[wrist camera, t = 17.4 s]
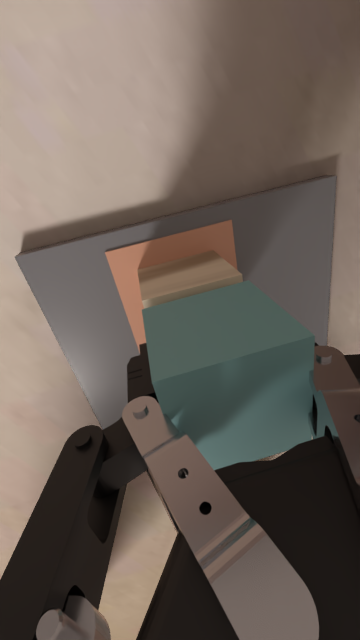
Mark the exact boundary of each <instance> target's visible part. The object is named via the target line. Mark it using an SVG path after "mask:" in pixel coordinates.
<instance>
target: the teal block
mask: <svg viewBox="0 0 360 640" xmlns="http://www.w3.org/2000/svg"><path fill="white" fill-rule="evenodd" d="M142 315H143V322H144V330H145V337H146V344H147V351H148V358H149V365H150V373H151V380H152V384H153V387H154V390H155V393H156V396H157V399H158V402H159V405H160V408H161V411H162V413H163V414H165V413H166V414H167V416H168V417H169V418H170V420H171V421H172V422H173V424H174V425H175V427H176V428H177V429H178V431H179V432H182V431H184V432H185V433H186V434H187V436H188V437H189V438H190V439H191V441H192V442H193V443H194V445H195V446H196V447H197V449H198V450H199V451H200V453H201V454H202V455H203V457H204V458H205V459H206V460H207V462H208V463H209V464H210V466H211V467H212V468H213V470H216V469H219V468H223V467H226V466H229V465H232V464H235V463H239V462H252V461H255V460H259V459H262V458H265V457H268V456H271V455H275V454H278V453H281V452H284V451H287V450H290V449H291V448H293V447H294V446H296V445H297V444H300V443H303V442H306V441H309V440H311V438H312V434H311V430H310V427H309V423H308V413H310V412H312V407H313V392H312V389H311V386H310V383H309V371H311V370H314V345H315V335H314V334H312V333H311V332H310V331H309V330H308V329H306V328H305V327H304V326H303V325H302V324H300V323H299V322H298V321H297V320H296V319H295V318H293V317H292V316H291V315H290V314H289V313H287V312H286V311H285V310H284V309H283V308H281V307H280V306H279V305H278V304H277V303H275V302H274V301H273V300H272V299H271V298H269V297H268V296H267V295H266V294H265V293H263V292H262V291H261V290H260V289H259V288H257V287H256V286H255V285H254V284H253V283H251V282H250V281H249V280H248V281H244V282H240V283H237V284H233V285H229V286H226V287H222V288H218V289H215V290H211V291H207V292H204V293H200V294H196V295H193V296H189V297H185V298H182V299H178V300H174V301H171V302H167V303H163V304H160V305H156V306H152V307H148V308H145V309H142Z"/></svg>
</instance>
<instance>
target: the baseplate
mask: <svg viewBox="0 0 360 640" xmlns="http://www.w3.org/2000/svg"><path fill="white" fill-rule="evenodd" d="M336 179H337V175H326V176H322V177H318V178H314V179H310V180H306V181H302V182H298V183H294V184H291V185H287V186H283V187H279V188H275V189H271V190H267V191H263V192H259V193H255V194H251V195H247V196H243V197H239V198H235V199H231V200H227V201H223V202H219V203H215V204H211V205H207V206H203V207H199V208H195V209H191V210H187V211H184V212H180V213H176V214H172V215H168V216H164V217H160V218H156V219H152V220H148V221H144V222H140V223H136V224H132V225H128V226H124V227H120V228H116V229H112V230H108V231H104V232H100V233H96V234H92V235H88V236H84V237H80V238H77V239H73V240H69V241H65V242H61V243H57V244H53V245H49V246H45V247H41V248H37V249H33V250H29V251H25V252H21V253H19V254H18V255H16V256H15V259H16V261H17V263H18V265H19V267H20V269H21V271H22V273H23V274H24V276H25V278H26V280H27V282H28V284H29V286H30V288H31V290H32V292H33V294H34V296H35V298H36V300H37V302H38V304H39V306H40V308H41V310H42V312H43V314H44V316H45V317H46V319H47V321H48V323H49V325H50V327H51V329H52V331H53V333H54V335H55V337H56V339H57V341H58V343H59V345H60V347H61V349H62V351H63V353H64V355H65V357H66V359H67V361H68V362H69V364H70V366H71V368H72V370H73V372H74V374H75V376H76V378H77V380H78V382H79V384H80V386H81V388H82V390H83V392H84V394H85V396H86V398H87V400H88V402H89V404H90V405H91V407H92V409H93V411H94V413H95V415H96V417H97V419H98V421H99V423H100V425H101V427H102V429H105V428H107V427H108V426H110V425H112V424H114V423H115V422H117V421H118V420H119V419H120V418H121V417H122V412H123V409H124V407H125V406H126V405H127V404H128V392H127V381H128V380H127V364H128V362H129V361H130V359H131V357H135V356H139V355H140V348H139V344H143V343H146V337H145V330H144V322H143V315H142V309H144V306H143V303H142V298H141V292H140V285H139V278H138V272H137V269H141V268H145V267H149V266H153V265H157V264H161V263H165V262H169V261H173V260H177V259H180V258H184V257H188V256H192V255H196V254H200V253H204V252H208V251H212V250H214V251H215V252H216V253H217V254H218V255H220V256H221V257H222V258H223V259H224V260H226V261H227V262H228V263H229V264H230V265H232V266H233V267H234V268H235V269H236V270H238V271H239V272H240V273H241V274H242V277H243V282H244V281H248V280H249V281H250V282H251V283H253V284H254V285H255V286H256V287H257V288H259V289H260V290H261V291H262V292H263V293H265V294H266V295H267V296H268V297H269V298H271V299H272V300H273V301H274V302H275V303H277V304H278V305H279V306H280V307H281V308H283V309H284V310H285V311H286V312H287V313H289V314H290V315H291V316H292V317H293V318H295V319H296V320H297V321H298V322H299V323H300V324H302V325H303V326H304V327H305V328H306V329H308V330H309V331H310V332H311V333H312V334H314V335H315V342H316V343H317V344H318V345H319V346H327V331H328V314H329V298H330V281H331V264H332V247H333V230H334V213H335V196H336Z"/></svg>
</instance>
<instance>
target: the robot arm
mask: <svg viewBox="0 0 360 640" xmlns="http://www.w3.org/2000/svg"><path fill="white" fill-rule="evenodd" d="M139 348H140V355H139V356H135V357H131V359H130V361H129V362H128V364H127V380H128V381H127V392H128V404H127V405H126V406H125V407H124V409H123V412H122V417H121V418H120V419H119V420H118V421H117V422H115V423H114V424H112V425H110V426H108V427H107V428H105V429H103V430H101V428H100V427H98V426H95V425H89V426H85V427H82V428H80V429H78V430H77V431H75V432H74V433H73V434H72V435H71V436H70V437H69V438H68V440H67V441H66V443H65V445H64V447H63V449H62V451H61V453H60V455H59V458H58V460H57V462H56V464H55V466H54V468H53V470H52V472H51V474H50V477H49V479H48V481H47V483H46V485H45V487H44V489H43V491H42V493H41V495H40V498H39V500H38V502H37V504H36V506H35V508H34V510H33V512H32V514H31V517H30V519H29V521H28V523H27V525H26V527H25V529H24V531H23V533H22V535H21V538H20V540H19V542H18V544H17V546H16V548H15V550H14V552H13V554H12V557H11V559H10V561H9V563H8V565H7V567H6V569H5V571H4V573H3V576H2V578H1V580H0V640H111V637H110V629H109V626H108V623H107V621H106V619H105V618H104V616H103V615H102V614H101V613H100V612H99V611H98V608H99V604H100V600H101V595H102V591H103V587H104V582H105V578H106V573H107V569H108V565H109V560H110V556H111V551H112V547H113V543H114V538H115V534H116V529H117V525H118V521H119V516H120V512H121V508H122V503H123V499H124V494H125V490H126V485H127V483H128V482H130V481H131V480H133V479H134V478H136V477H137V476H139V475H140V474H142V473H143V472H145V471H146V472H147V474H148V476H149V477H150V479H151V481H152V483H153V485H154V487H155V489H156V491H157V493H158V495H159V497H160V499H161V501H162V503H163V505H164V507H165V509H166V511H167V514H168V516H169V518H170V520H171V522H172V524H173V526H174V528H175V530H176V532H177V537H176V539H175V542H174V544H173V547H172V549H171V552H170V555H169V557H168V560H167V562H166V565H165V567H164V570H163V572H162V575H161V577H160V580H159V583H158V585H157V588H156V590H155V593H154V595H153V598H152V600H151V603H150V605H149V608H148V611H147V613H146V616H145V618H144V621H143V623H142V626H141V628H140V631H139V634H138V636H137V639H136V640H360V354H357V355H343V354H342V353H341V352H340V351H339V350H337V349H335V348H333V347H330V346H319V345H318V344H317V343H316V342H315V345H314V370H311V371H309V383H310V386H311V389H312V392H313V407H312V412H310V413H308V423H309V427H310V430H311V434H312V437H313V440H309V441H306V442H303V443H300V444H297V445H296V446H294V447H293V448H291V449H290V450H288V451H287V452H285V453H284V454H282V455H281V456H279V457H278V458H276V459H274V460H271V461H254V462H239V463H235V464H232V465H229V466H226V467H223V468H219V469H216V470H213V468H212V467H211V466H210V464H209V463H208V462H207V460H206V459H205V458H204V457H203V455H202V454H201V453H200V451H199V450H198V449H197V447H196V446H195V445H194V443H193V442H192V441H191V439H190V438H189V437H188V436H187V434H186V433H185V432H184V431H182V432H179V431H178V429H177V428H176V427H175V425H174V424H173V422H172V421H171V420H170V418H169V417H168V416H167V414H166V413H165V414H163V413H162V411H161V408H160V405H159V402H158V399H157V396H156V393H155V390H154V387H153V384H152V380H151V373H150V365H149V358H148V351H147V344H146V343H143V344H139Z"/></svg>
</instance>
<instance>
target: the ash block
mask: <svg viewBox="0 0 360 640" xmlns="http://www.w3.org/2000/svg"><path fill="white" fill-rule="evenodd" d="M137 272H138V278H139V285H140V292H141V298H142V303H143V306H144V309H145V308H148V307H152V306H156V305H160V304H163V303H167V302H171V301H174V300H178V299H182V298H185V297H189V296H193V295H196V294H200V293H204V292H207V291H211V290H215V289H218V288H222V287H226V286H229V285H233V284H237V283H240V282H243V277H242V274H241V273H240V272H239V271H238V270H236V269H235V268H234V267H233V266H232V265H230V264H229V263H228V262H227V261H226V260H224V259H223V258H222V257H221V256H220V255H218V254H217V253H216V252H215V251H214V250H212V251H208V252H204V253H200V254H196V255H192V256H188V257H184V258H180V259H177V260H173V261H169V262H165V263H161V264H157V265H153V266H149V267H145V268H141V269H137Z"/></svg>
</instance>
